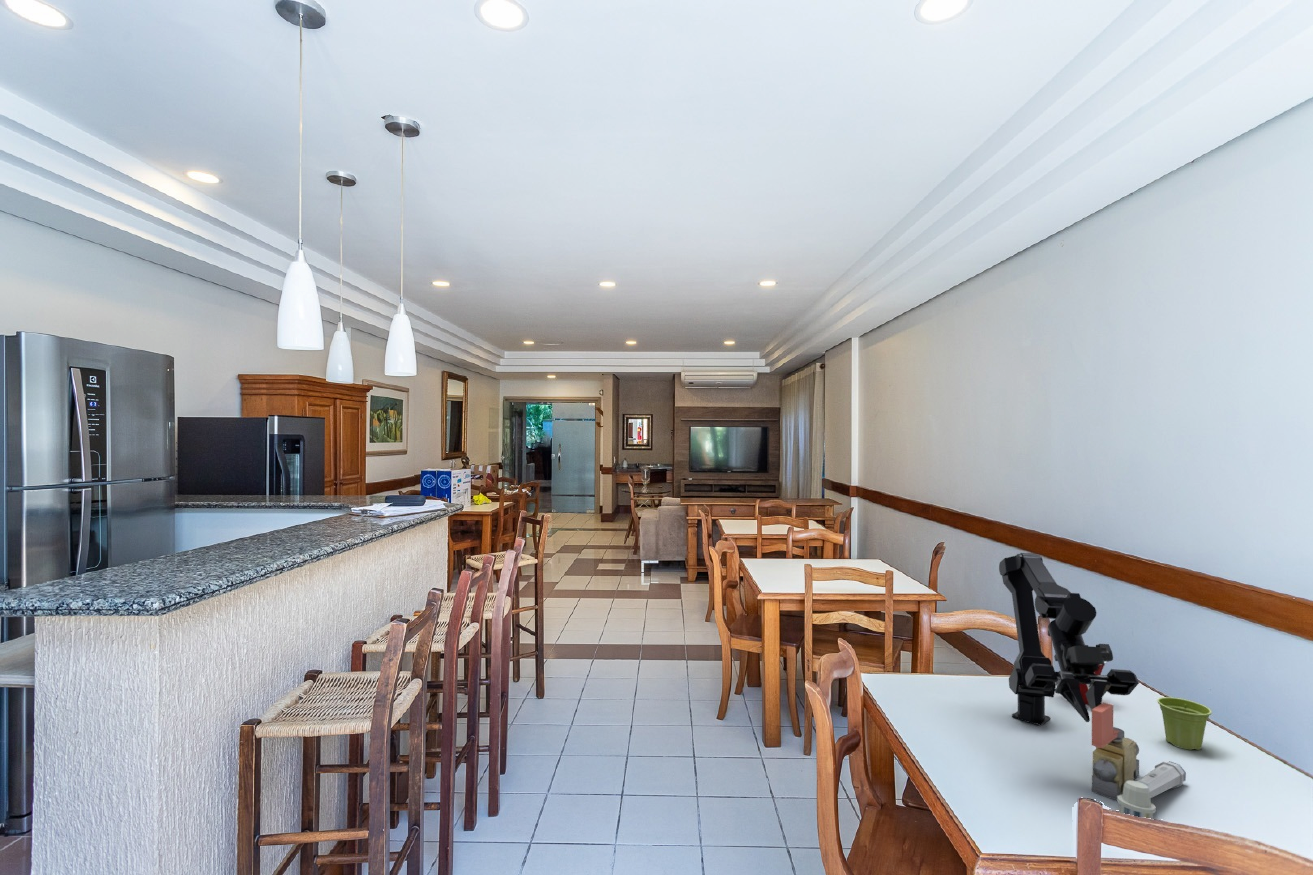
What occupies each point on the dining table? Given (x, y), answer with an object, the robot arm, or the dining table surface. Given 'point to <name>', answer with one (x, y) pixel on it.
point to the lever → (1104, 726)
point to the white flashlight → (1150, 789)
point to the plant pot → (1184, 722)
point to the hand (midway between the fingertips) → (1093, 721)
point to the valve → (1114, 767)
